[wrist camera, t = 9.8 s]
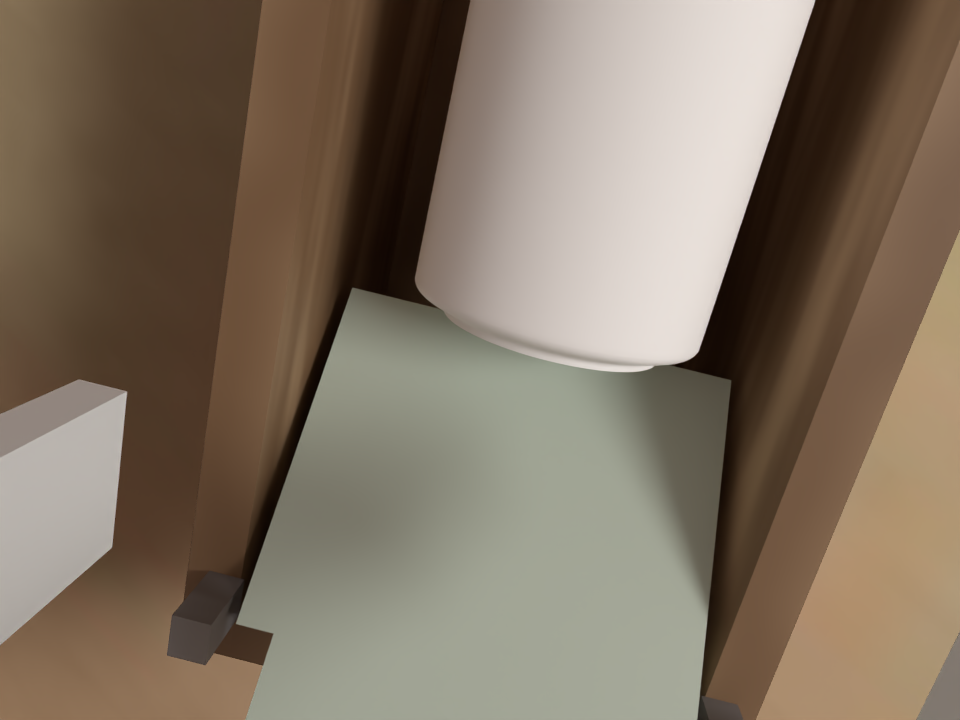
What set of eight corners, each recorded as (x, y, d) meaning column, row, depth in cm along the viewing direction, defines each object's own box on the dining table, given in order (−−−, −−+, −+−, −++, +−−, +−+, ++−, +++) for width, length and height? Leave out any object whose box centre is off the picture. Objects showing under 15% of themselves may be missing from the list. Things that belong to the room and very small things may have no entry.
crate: (327, 449, 34) (138, 694, 18) (440, -160, 27) (294, -655, 11) (648, 529, 33) (749, 852, 17) (847, -65, 26) (1316, -432, 10)
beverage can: (474, 280, 25) (560, -97, 21) (702, 349, 22) (840, -65, 19) (353, 309, 17) (454, -262, 14) (673, 416, 15) (891, -246, 11)
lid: (118, 1011, 16) (77, 1061, 14) (356, 308, 23) (350, 279, 21) (629, 1148, 16) (656, 1217, 14) (712, 396, 23) (738, 374, 21)
